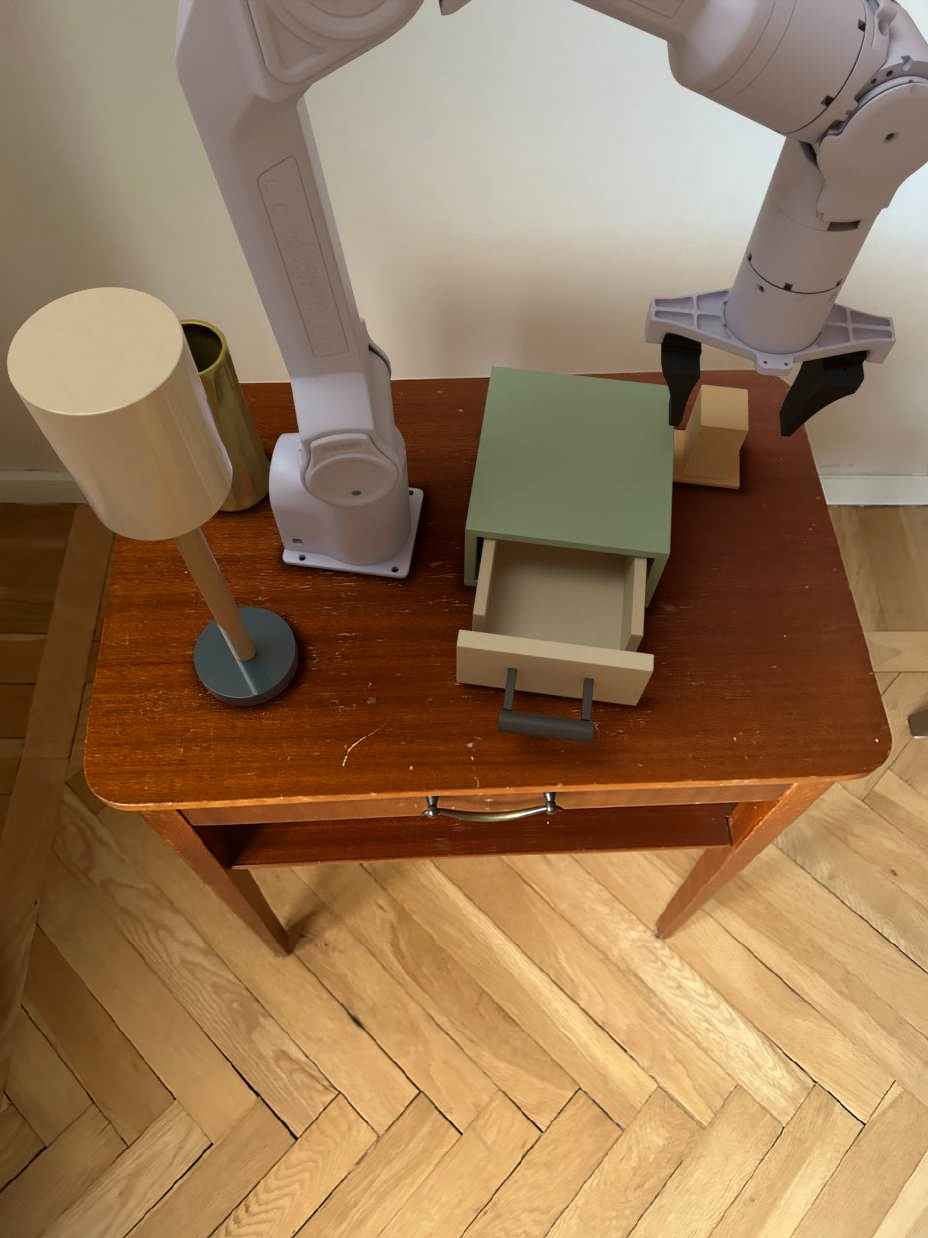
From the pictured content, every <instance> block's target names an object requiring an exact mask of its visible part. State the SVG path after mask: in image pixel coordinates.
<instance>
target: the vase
mask: <svg viewBox="0 0 928 1238" xmlns="http://www.w3.org/2000/svg"><path fill="white" fill-rule="evenodd" d="M179 321H180V323H181V326H182V328H183V331H184V334H185V337H186V339H187V342H188V345H189V348H190V350H191V353H192V356H193V359H194V361H195V364H196V367H197V370H198V372H199V375H200V378H201V381H202V383H203V386H204V389H205V392H206V395H207V397H208V400H209V403H210V406H211V408H212V411H213V414H214V417H215V419H216V422H217V425H218V428H219V430H220V433H221V436H222V439H223V441H224V444H225V447H226V450H227V452H228V455H229V458H230V461H231V465H232V473H233V475H232V484H231V488H230V491H229V493H228V496H227V498H226V500H225V502H224V503H223V505H222V506H221V507H220V509H219V510H218V511H221V512H240V511H244V510H248V509H250V508H252V507H254V506H255V505H257V504H258V503H260V502H261V501H262V500H264V498H265V497H266V496H267V495H268V494H269V474H270V466H271V461H270V460H269V459H268V457H267V456H266V453H265V450H264V447H263V442H262V440H261V437H260V434H259V432H258V429H257V426H256V424H255V420H254V418H253V415H252V413H251V409H250V407H249V405H248V401H247V399H246V397H245V394H244V392H243V389H242V387H241V384H240V381H239V378H238V375H237V371H236V368H235V365H234V361H233V358H232V354H231V352H230V348H229V346H228V342H227V339H226V336H225V334H224V333H223V332H222V331H221V330H220V328H218V327H217V326H215V325H213V323H210V322H208V321H205V320H201V319H190V318H189V319H179Z"/></svg>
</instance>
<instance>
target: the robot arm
mask: <svg viewBox="0 0 928 1238" xmlns="http://www.w3.org/2000/svg"><path fill="white" fill-rule="evenodd" d="M424 1H425V0H178V5H177V12H176V20H175V21H176V25H175V44H174V63H175V69H176V74H177V79H178V81H179V84H180V86H181V90H182V92H183V95H184V98H185V101H186V103H187V106H188V109H189V111H190V114H191V116H192V119H193V121H194V124H195V127H196V130H197V132H198V136H199V138H200V141H201V144H202V146H203V149H204V151H205V154H206V157H207V159H208V162H209V165H210V167H211V170H212V173H213V175H214V178H215V181H216V183H217V186H218V189H219V191H220V194H221V197H222V200H223V202H224V205H225V207H226V210H227V212H228V215H229V219H230V220H231V221H230V222H231V223H232V226H233V229H234V232H235V235H236V236H237V240H238V242H239V244H240V247H241V250H242V253H243V255H244V258H245V261H246V263H247V266H248V269H249V271H250V275H251V277H252V280H253V282H254V285H255V287H256V290H257V293H258V295H259V298H260V300H261V304H262V307H263V309H264V312H265V313H266V316H267V317H266V318H267V320H268V322H269V325H270V327H271V330H272V333H273V336H274V338H275V341H276V343H277V346H278V349H279V352H280V354H281V357H282V359H283V363H284V365H285V367H286V370H287V373H288V376H289V381H290V387H291V391H292V392H291V393H292V397H293V403H294V409H295V410H294V411H295V415H296V421H297V427H298V432H288V433H287V432H286V433H282V434H281V435H280V436H279V437H278V439H277V441H276V443H275V446H274V449H273V452H272V456H271V461H270V464H271V466H270V474H269V492H268V494H269V495H268V496H269V502H270V503H269V504H270V507H271V510H272V513H273V516H274V520H275V523H276V526H277V530H278V532H279V536H280V538H281V542H282V545H283V549H284V550H283V553H282V560H283V563H284V564H286V565H292V566H298V567H299V566H300V567H306V568H307V567H309V568H316V569H324V570H332V571H339V572H347V573H355V574H363V575H370V576H378V577H379V576H380V577H387V578H395V579H406V578H407V577H408V576H409V572H410V567H411V562H412V557H413V552H414V547H415V542H416V536H417V533H418V528H419V522H420V516H421V512H422V507H423V501H424V492H423V490H422V489H420V488H415V487H409V485H410V484H409V476H408V475H409V473H408V464H407V463H408V462H407V461H408V460H407V449H406V448H407V447H406V443H405V439H404V437H403V434H402V433H401V431H400V430H399V428H398V427H397V425H396V423H395V415H394V414H395V413H394V406H393V405H394V404H393V397H392V387H391V378H392V365H391V362H390V360H389V359H390V358H389V357H388V355H387V354H386V352H385V351H384V350H383V349H382V348H381V347H380V346H379V345H378V344H377V343H375V342H374V340H373V339H372V338H371V336H370V334H369V331H368V328H367V325H366V321H365V318H363V317H361V316H360V314H359V313H360V312H359V309H358V305H357V301H356V298H355V294H354V289H353V285H352V282H351V277H350V275H349V270H348V266H347V262H346V257H345V254H344V249H343V245H342V241H341V238H340V235H339V230H338V225H337V222H336V218H335V214H334V210H333V207H332V203H331V199H330V195H329V190H328V187H327V183H326V179H325V174H324V171H323V166H322V162H321V159H320V155H319V150H318V147H317V143H316V138H315V134H314V131H313V127H312V122H311V119H310V114H309V111H308V107H307V103H306V99H305V94H306V93H307V92H308V90H309V89H310V88H311V87H312V86H313V84H315V83H316V82H318V81H320V80H322V79H323V78H326V77H327V76H329V75H330V74H332V73H333V72H335V71H337V70H339V69H341V68H342V67H344V66H345V65H347V64H350V63H351V62H352V61H354V60H356V59H357V58H359V57H361V56H362V55H364V54H366V53H368V52H370V51H371V50H372V49H374V48H376V47H378V46H380V45H381V44H383V43H385V42H386V41H387V40H389V39H390V38H391V37H393V36H395V35H396V34H397V33H398V32H399V31H400V30H402V29H403V28H404V27H406V25H407V24H408V23H409V22H410V21H411V20H412V19H413V18H414V17H415V16H416V14H417V13H418V12H419V10H420V8H421V7H422V5H423V4H424ZM471 1H472V0H438V5H439V11H440V15H441V16H442V17H445V16H450V15H453V14H455V13H457V12H458V11H459V10H461V9H462V8H463V7H465V6H466V5H467V4H469V3H470V2H471ZM571 1H572V2H574V3H577V4H579V5H582V6H584V7H586V8H588V9H591V10H593V11H596V12H598V13H599V14H602V15H605V16H606V17H610V18H612V19H614V20H616V21H619V22H622V23H623V24H626V25H628V26H630V27H633V28H635V29H637V30H640V31H642V32H644V33H648V34H649V35H651V36H654V37H656V38H659V39H661V40H663V41H666V49H667V57H668V65H669V69H670V73H671V75H672V77H673V79H674V81H676V83H678V85H679V86H681V87H683V88H685V89H687V90H689V91H692V92H693V93H696V94H698V95H700V96H702V97H704V98H706V99H708V100H709V101H711V102H714V103H716V104H717V105H721V106H722V107H724V108H726V109H728V110H730V111H733V112H734V113H736V114H739V115H740V116H743V117H745V118H746V119H749V120H751V121H753V122H754V123H757V124H759V125H760V126H763V127H765V128H767V129H769V130H771V131H773V132H775V133H776V134H779V135H780V136H783V137H785V139H784V142H783V144H782V148H781V149H780V150H781V151H780V153H779V156H778V159H777V162H776V164H775V168H774V170H773V173H772V175H771V178H770V180H769V184H768V187H767V190H766V192H765V195H764V198H763V201H762V203H761V206H760V209H759V212H758V214H757V218H756V220H755V223H754V226H753V229H752V232H751V235H750V237H749V239H748V242H747V245H746V248H745V251H744V253H743V257H742V260H741V262H740V265H739V267H738V270H737V273H736V277H735V279H734V281H733V285H732V286H731V287H728V288H721V289H715V290H711V291H705V292H697V293H693V294H687V295H681V296H671V297H670V296H669V297H663V296H662V297H659V296H651V298H650V301H649V305H648V309H647V312H646V317H645V327H644V343H645V344H651V345H652V344H653V345H660V367H661V371H662V376H663V378H664V381H665V383H666V385H667V386H668V389H669V393H670V400H669V425H670V426H674V427H678V428H679V427H680V425H681V424H682V421H683V419H684V418H683V417H684V416H685V415H684V414H685V411H686V407H687V403H688V400H689V398H690V396H691V394H692V392H693V390H694V389H695V386H696V384H697V383H698V382H699V380H700V379H701V356H702V354H703V353H702V352H703V349H702V344H703V345H707V346H709V347H713V348H715V349H719V350H721V351H724V352H727V353H729V354H732V355H734V356H738V357H741V358H744V359H746V360H749V361H752V362H753V367H754V370H755V372H757V373H758V374H759V375H763V376H771V377H772V376H773V377H787V376H789V375H790V374H791V372H792V370H793V368H794V364H797V363H801V365H800V368H799V371H798V373H797V374H796V377H795V379H794V380H793V383H792V385H791V386H790V388H789V390H788V391H787V394H786V396H785V397H784V400H783V401H782V405H781V407H780V411H779V413H778V415H779V424H780V425H779V426H780V428H779V429H780V436H781V437H787V438H788V437H789V438H790V437H791V436H793V435H794V434H795V433H796V432H797V431H798V430H799V429H800V428H801V427H802V426H804V424H805V423H807V422H808V421H809V420H810V419H811V418H812V417H813V416H815V415H816V414H818V413H819V412H820V411H821V410H823V409H824V408H826V407H828V406H829V405H831V404H833V403H834V402H836V401H839V400H841V399H843V398H845V397H848V396H851V395H854V394H856V393H857V391H858V389H860V387H861V386H862V384H863V382H864V380H865V370H864V362H866V363H869V364H879V365H881V364H882V365H883V364H884V362H885V360H886V359H887V357H888V356H889V354H890V352H891V350H892V349H893V347H894V346H895V344H896V342H897V337H896V331H895V325H894V319H893V317H890V316H883V315H877V314H872V313H868V312H864V311H860V310H857V309H854V308H852V307H849V306H846V305H843V304H840V303H837V302H836V301H837V298H838V297H839V294H840V293H841V290H842V288H843V286H844V284H845V282H846V280H847V278H848V276H849V274H850V272H851V270H852V268H853V266H854V264H855V262H856V260H857V258H858V256H859V254H860V252H861V250H862V248H863V246H864V244H865V242H866V240H867V238H868V235H869V234H870V232H871V229H872V228H873V226H874V224H875V223H876V222H875V221H876V220H877V218H878V217H879V215H880V214H881V212H882V211H883V210H885V209H888V208H889V206H890V204H891V203H892V201H893V199H894V197H895V195H896V192H898V189H899V188H900V186H902V185H903V183H904V182H905V181H906V180H907V179H908V178H910V177H911V176H912V175H913V174H915V173H916V172H917V171H919V170H920V169H921V168H923V167H924V166H925V165H926V164H928V41H926V39H925V37H924V35H923V34H922V33H921V31H920V29H919V28H918V26H917V24H916V23H915V21H914V19H913V18H912V16H911V15H910V13H909V12H908V11H907V10H906V9H905V8H904V7H903V6H902V5H901V4H900V2H898V1H897V0H571ZM410 494H411V495H410ZM302 558H303V559H304V560H302ZM394 570H397V571H396V572H395V571H394Z"/></svg>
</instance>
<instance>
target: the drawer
mask: <svg viewBox="0 0 928 1238" xmlns="http://www.w3.org/2000/svg"><path fill="white" fill-rule="evenodd" d="M646 568H647V557H639V556H631V555H623V554H615V553H607V552H599V551H591V550H582V549H574V548H566V547H558V546H550V545H542V544H533V543H525V542H517V541H509V540H501V539H493V538H485V537H484V544H483V550H482V557H481V564H480V570H479V577H478V583H477V587H476V590H475V596H474V597H475V598H474V604H473V609H472V627H471V630H467V629H459V630H458V633H457V634H458V635H457V641H456V677H455V678H456V679H455V680H456V683H460V684H467V685H476V686H482V687H491V688H498V689H504V697H503V705H502V708H501V709H499V712H498V720H497V727H496V731H497V732H500V733H507V734H508V733H509V734H514V735H522V736H530V737H536V738H545V739H552V740H560V741H567V742H573V743H583V744H589V745H590V744H592V743H593V739H594V733H595V722H594V721H592V709H593V701H597V702H605V703H612V704H619V705H627V706H628V705H629V706H637V705H638V704H639V701H640V699H641V697H642V695H643V693H644V691H645V689H646V687H647V684H648V682H649V681H650V678H651V677H652V674H653V672H654V663H655V655H654V654H652V653H646V652H645V653H644V652H637V651H638V648H639V646H640V644H641V642H642V639H643V637H644V631H645V630H644V628H645V627H644V626H645V609H646V608H645V589H646ZM515 691H522V692H529V693H537V694H544V695H552V696H558V697H559V696H560V697H566V698H573V699H581V709H580V719H578V718H577V719H576V718H569V717H562V716H555V715H554V716H553V715H548V714H547V715H546V714H539V713H538V714H537V713H531V712H524V711H517V710H513V707H514V699H515Z"/></svg>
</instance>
